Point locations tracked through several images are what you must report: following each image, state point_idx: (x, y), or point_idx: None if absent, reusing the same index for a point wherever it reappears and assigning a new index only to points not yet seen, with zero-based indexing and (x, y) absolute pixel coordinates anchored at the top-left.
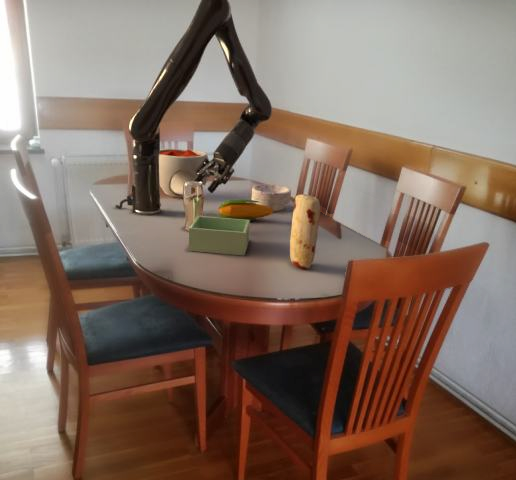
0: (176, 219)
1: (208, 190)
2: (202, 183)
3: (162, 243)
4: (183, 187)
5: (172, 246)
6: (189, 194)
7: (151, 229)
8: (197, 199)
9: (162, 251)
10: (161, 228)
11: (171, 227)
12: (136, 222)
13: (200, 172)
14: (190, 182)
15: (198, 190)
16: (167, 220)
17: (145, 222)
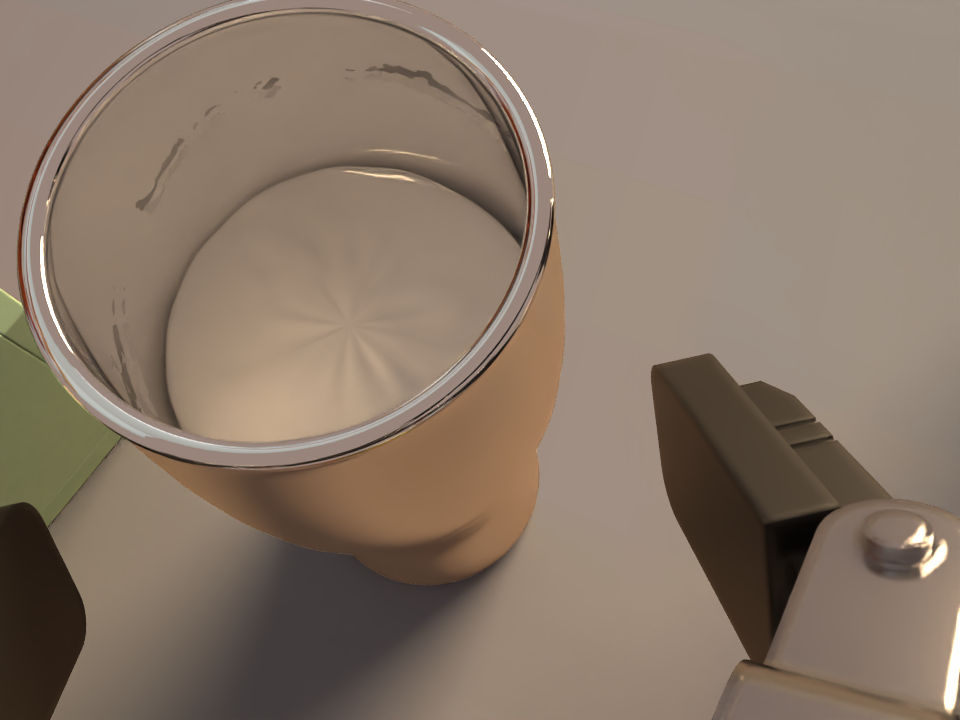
0: (901, 442)
1: (37, 533)
2: (248, 448)
3: (121, 47)
4: (380, 54)
5: (10, 93)
6: (202, 162)
7: (557, 77)
8: (153, 327)
9: None
10: (564, 169)
11: (571, 272)
12: (839, 18)
13: (852, 592)
14: (537, 224)
15: (77, 277)
16: (870, 324)
17: (824, 91)
